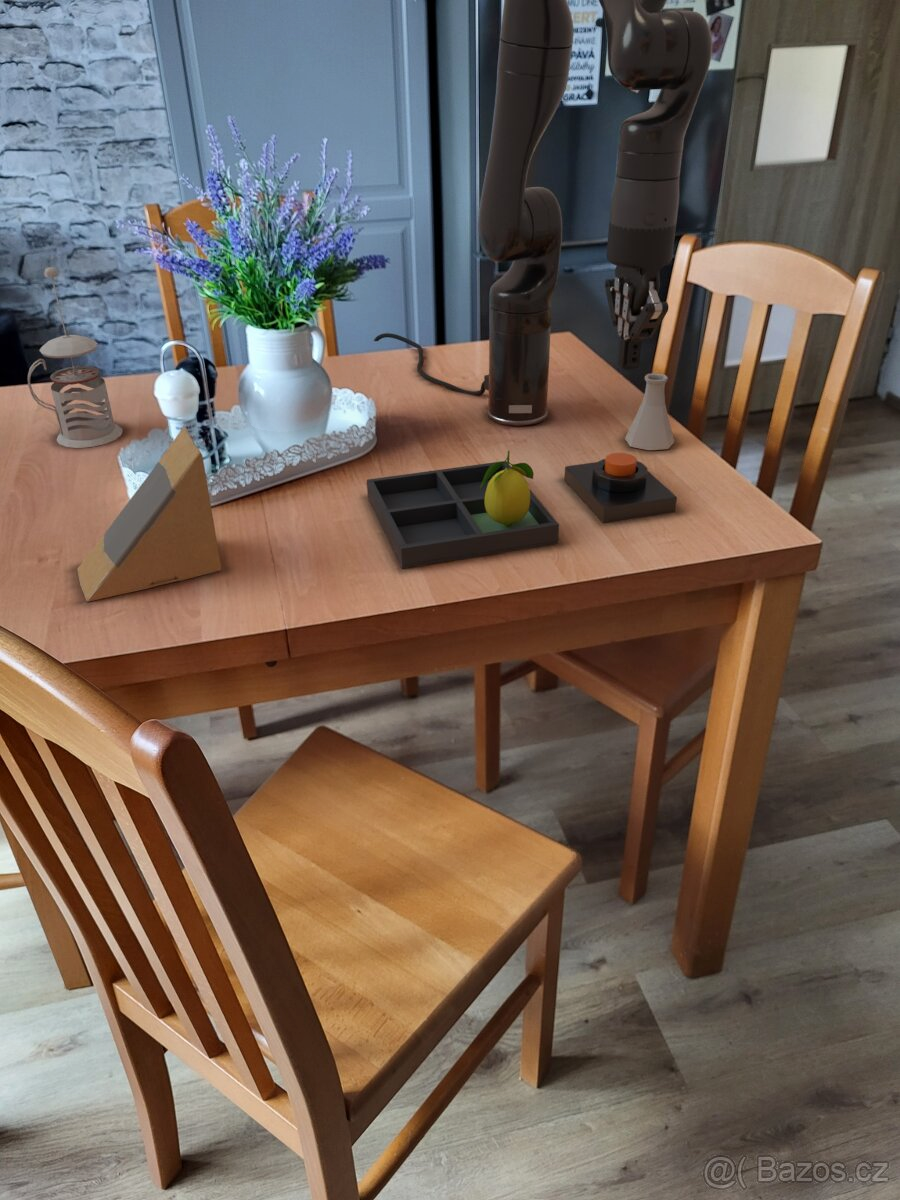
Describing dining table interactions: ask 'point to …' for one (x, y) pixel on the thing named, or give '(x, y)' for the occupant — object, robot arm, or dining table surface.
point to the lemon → (508, 492)
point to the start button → (620, 464)
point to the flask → (652, 418)
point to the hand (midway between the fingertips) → (627, 367)
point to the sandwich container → (157, 530)
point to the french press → (81, 424)
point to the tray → (451, 517)
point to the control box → (619, 492)
